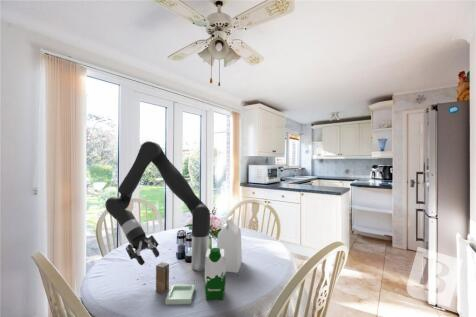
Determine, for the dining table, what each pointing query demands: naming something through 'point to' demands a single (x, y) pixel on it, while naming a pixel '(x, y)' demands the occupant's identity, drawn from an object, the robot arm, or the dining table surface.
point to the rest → (180, 294)
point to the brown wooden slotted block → (162, 277)
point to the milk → (231, 245)
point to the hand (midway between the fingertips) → (150, 260)
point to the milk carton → (215, 274)
